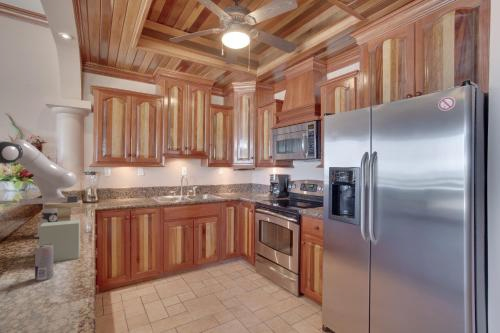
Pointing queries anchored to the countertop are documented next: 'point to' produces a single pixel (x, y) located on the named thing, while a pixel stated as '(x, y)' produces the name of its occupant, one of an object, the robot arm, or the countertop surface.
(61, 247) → the pale green box
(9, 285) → the countertop surface
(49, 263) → the energy drink
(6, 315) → the countertop surface
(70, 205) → the stand
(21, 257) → the countertop surface
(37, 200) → the hammer
